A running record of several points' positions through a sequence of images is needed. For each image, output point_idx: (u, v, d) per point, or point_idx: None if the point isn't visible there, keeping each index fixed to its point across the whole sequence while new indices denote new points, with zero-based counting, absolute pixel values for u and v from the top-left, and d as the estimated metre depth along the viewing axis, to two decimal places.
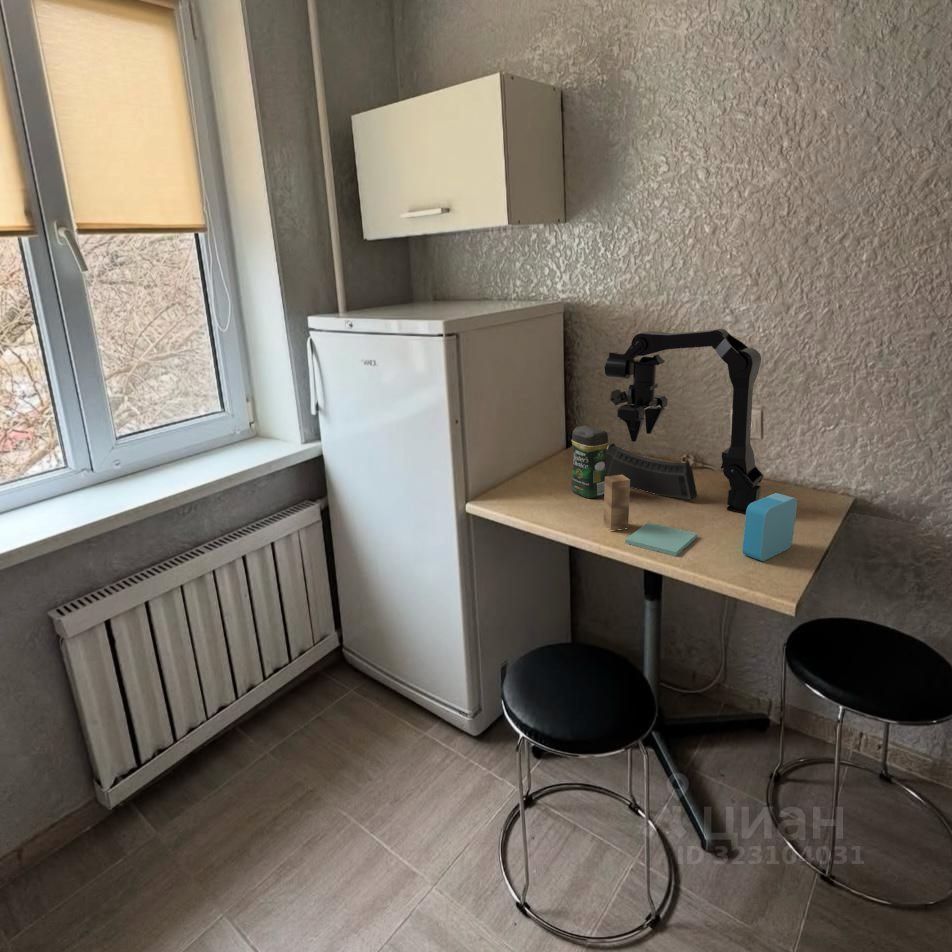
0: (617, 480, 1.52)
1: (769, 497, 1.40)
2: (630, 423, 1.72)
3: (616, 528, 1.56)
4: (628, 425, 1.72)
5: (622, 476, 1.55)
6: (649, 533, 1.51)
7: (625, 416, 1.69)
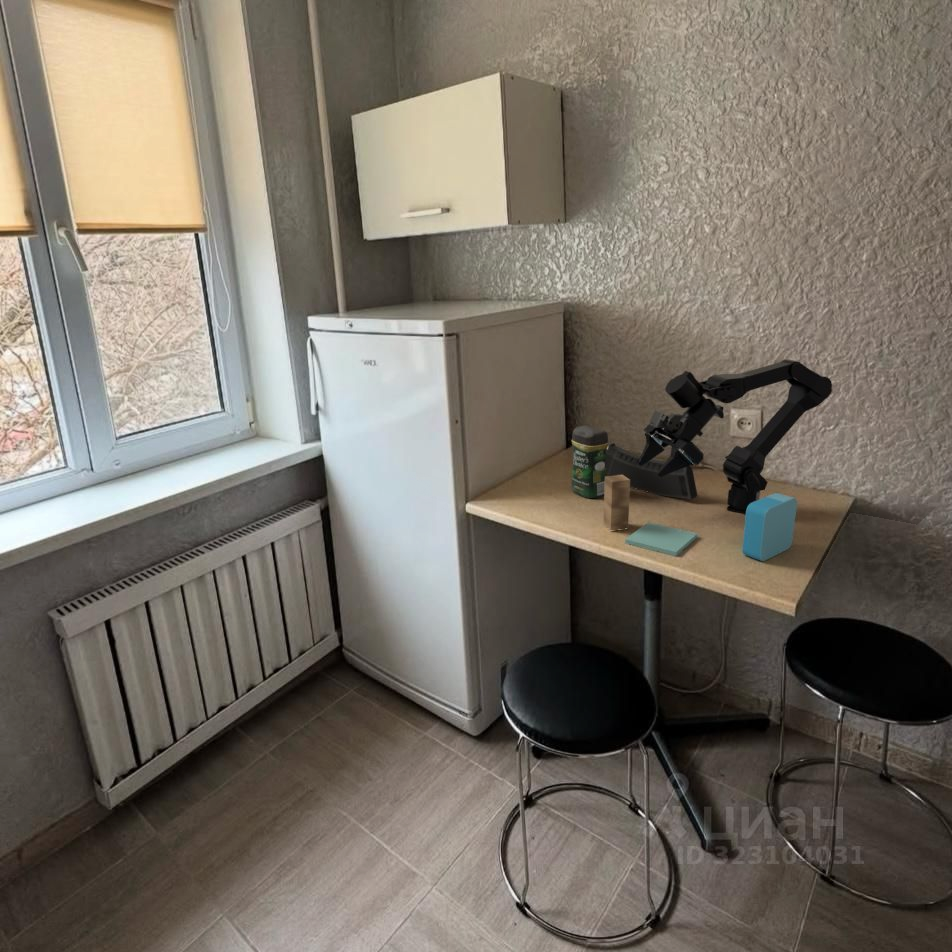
0: (617, 480, 1.52)
1: (769, 497, 1.40)
2: (674, 459, 1.49)
3: (616, 528, 1.56)
4: (673, 460, 1.49)
5: (622, 476, 1.55)
6: (649, 533, 1.51)
7: (691, 455, 1.46)
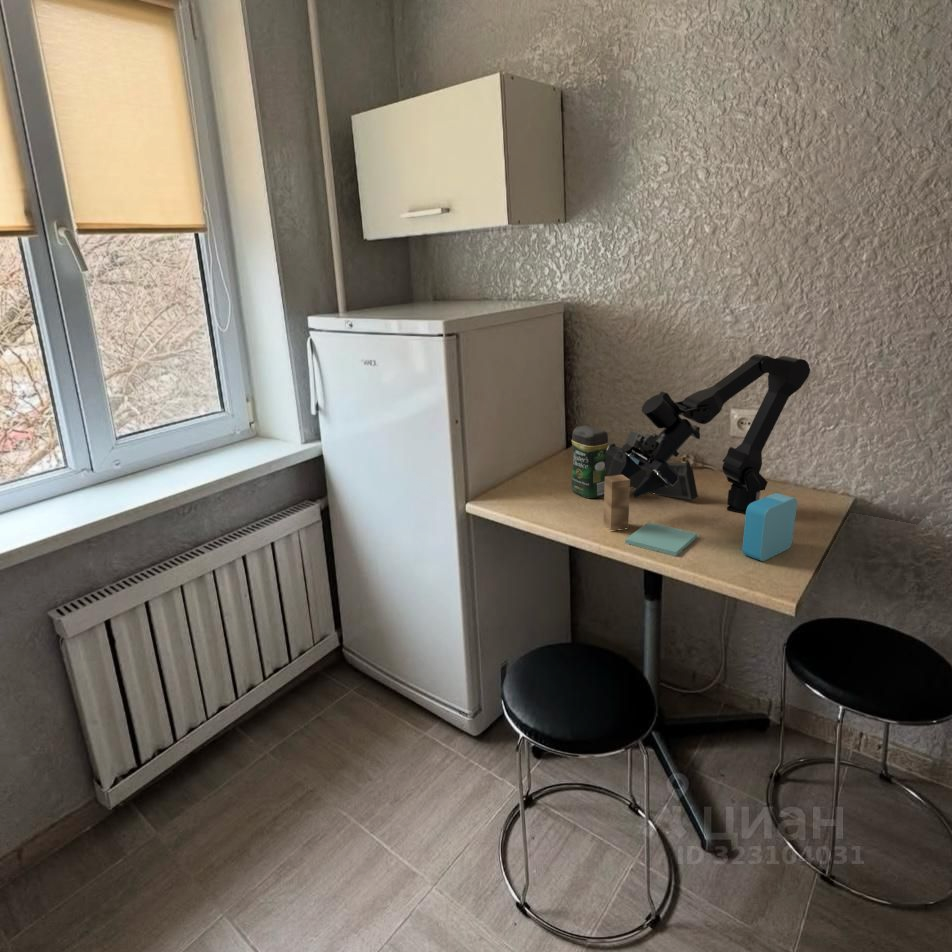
0: (617, 480, 1.52)
1: (769, 497, 1.40)
2: (650, 479, 1.49)
3: (616, 528, 1.56)
4: (648, 480, 1.49)
5: (622, 476, 1.55)
6: (649, 533, 1.51)
7: (666, 476, 1.46)
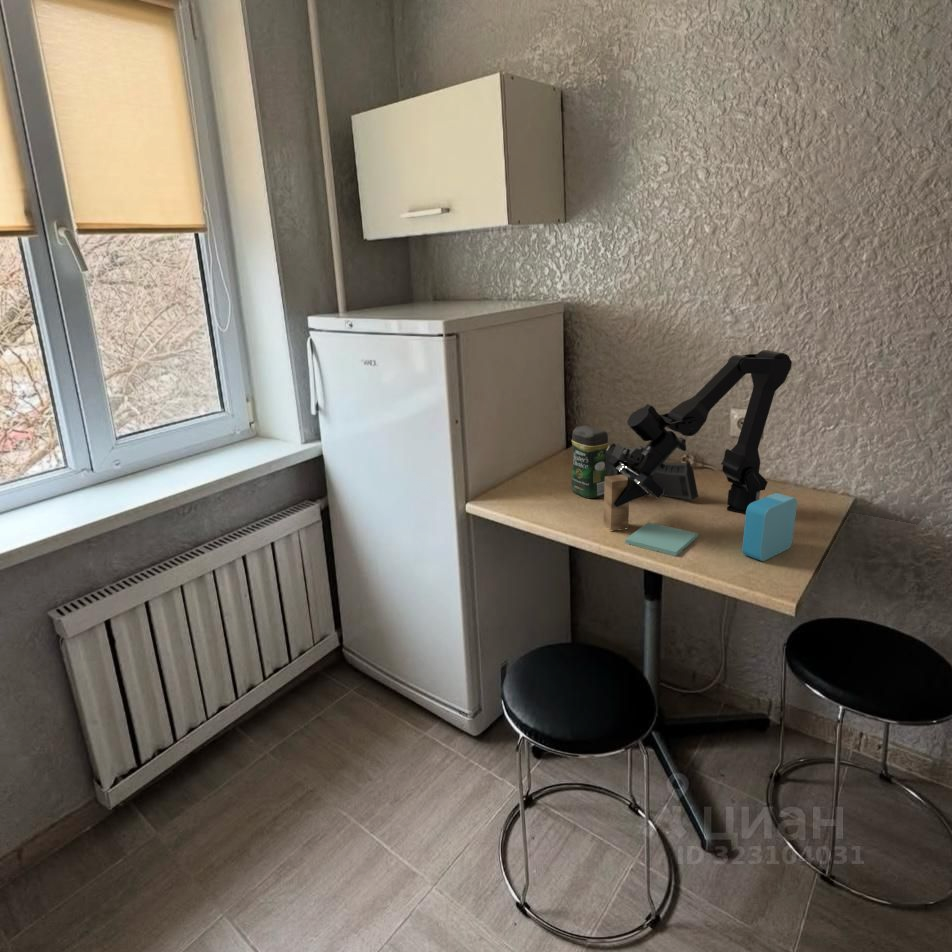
0: (617, 480, 1.52)
1: (769, 497, 1.40)
2: (631, 489, 1.51)
3: (616, 528, 1.56)
4: (629, 490, 1.51)
5: (622, 476, 1.55)
6: (649, 533, 1.51)
7: (651, 489, 1.46)
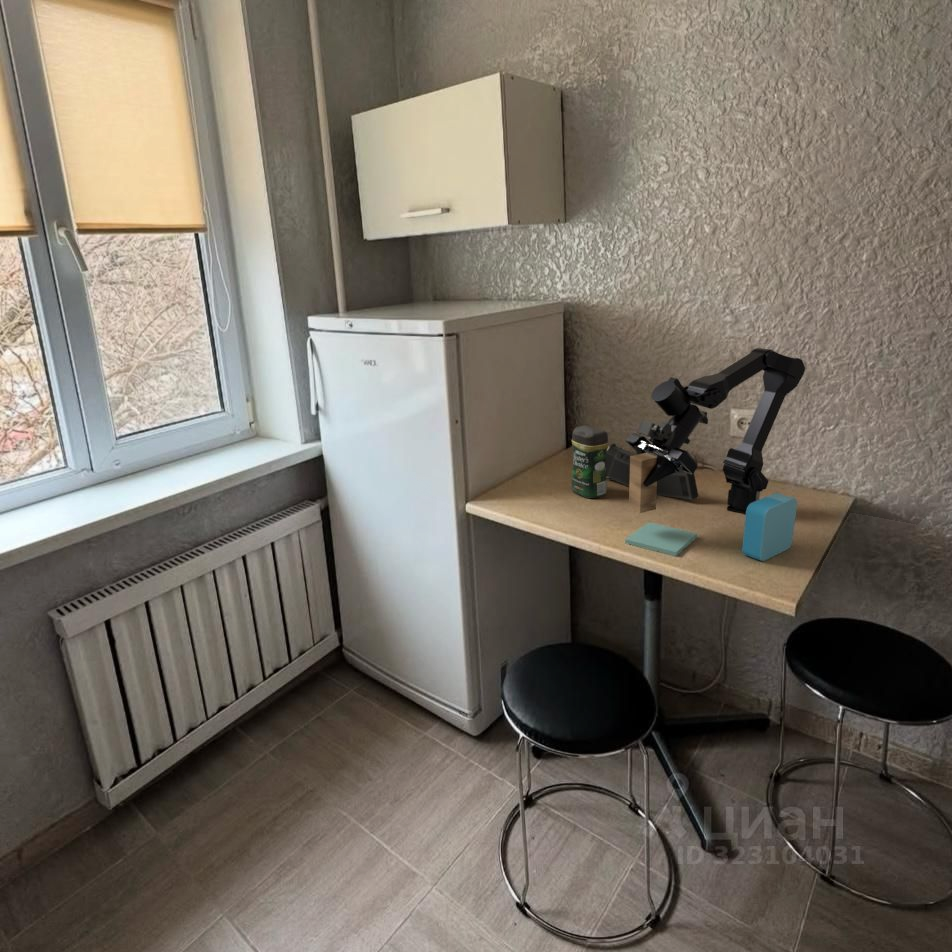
0: (645, 458, 1.45)
1: (769, 497, 1.40)
2: (660, 467, 1.45)
3: (645, 509, 1.49)
4: (659, 468, 1.45)
5: (647, 454, 1.48)
6: (649, 533, 1.51)
7: (687, 465, 1.40)
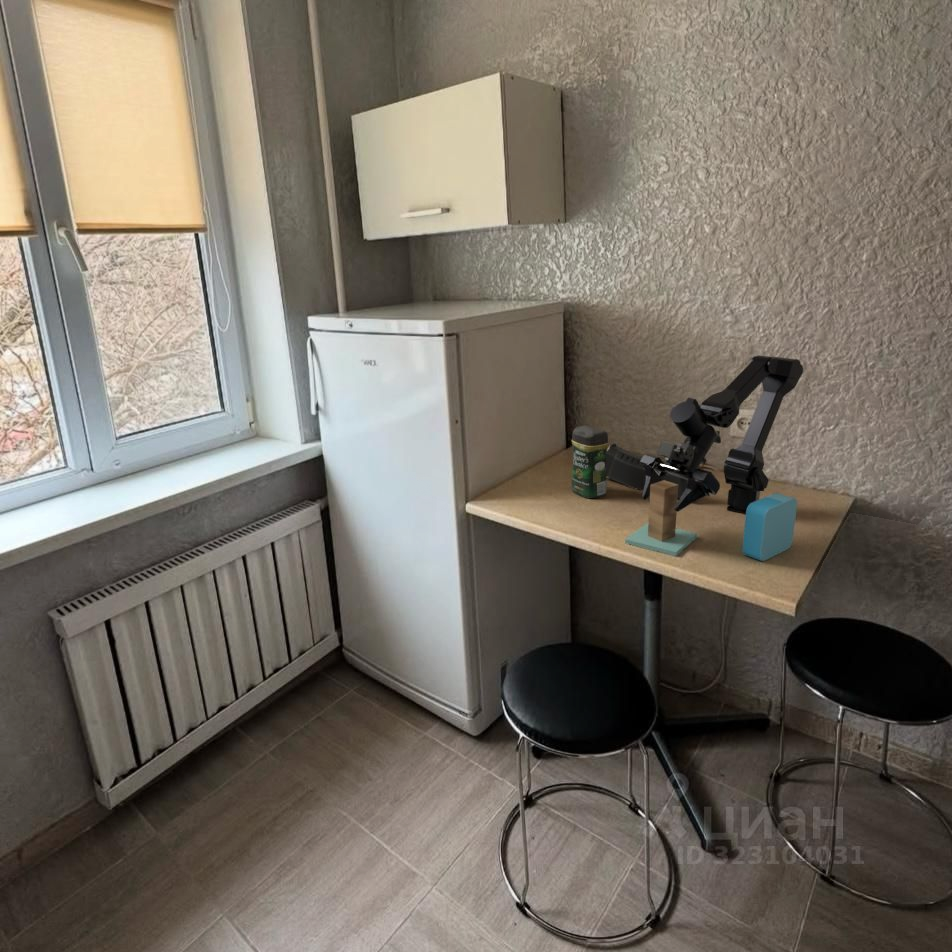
0: (667, 487, 1.44)
1: (769, 497, 1.40)
2: (691, 491, 1.42)
3: (666, 537, 1.47)
4: (691, 492, 1.41)
5: (666, 482, 1.47)
6: None
7: (711, 485, 1.40)
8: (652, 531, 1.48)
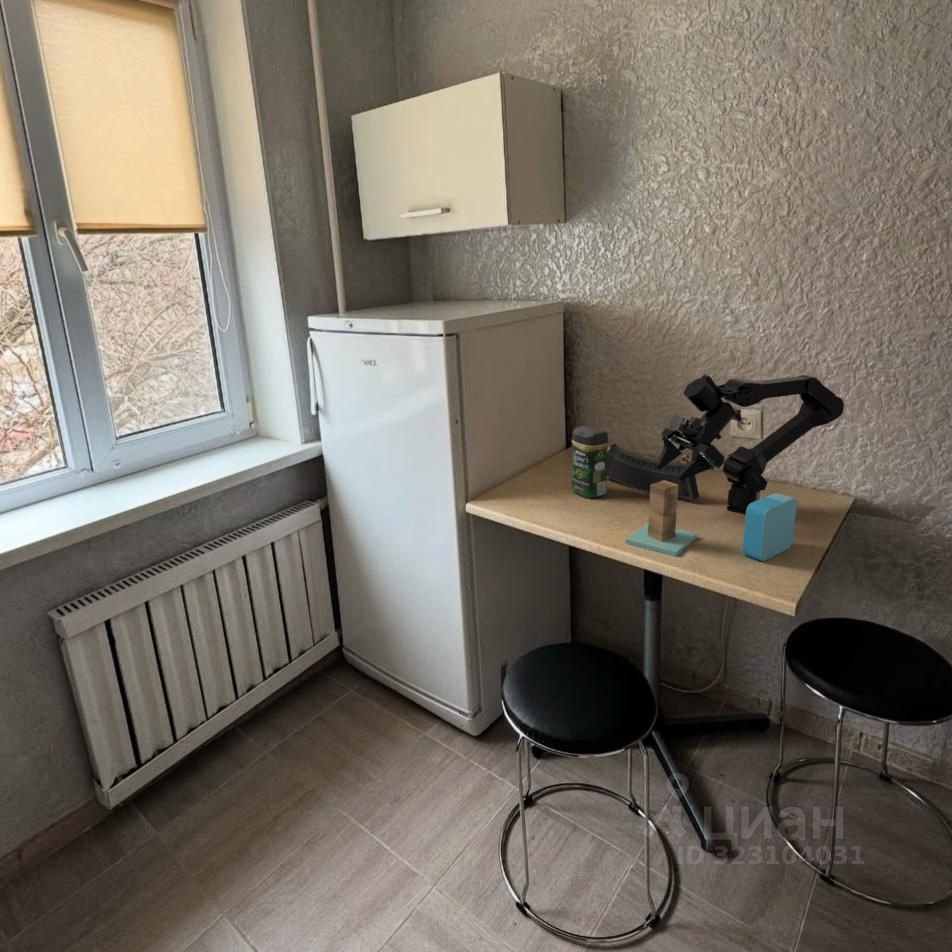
0: (667, 487, 1.44)
1: (769, 497, 1.40)
2: (695, 462, 1.50)
3: (666, 537, 1.47)
4: (694, 463, 1.50)
5: (666, 482, 1.47)
6: None
7: (713, 458, 1.47)
8: (652, 531, 1.48)
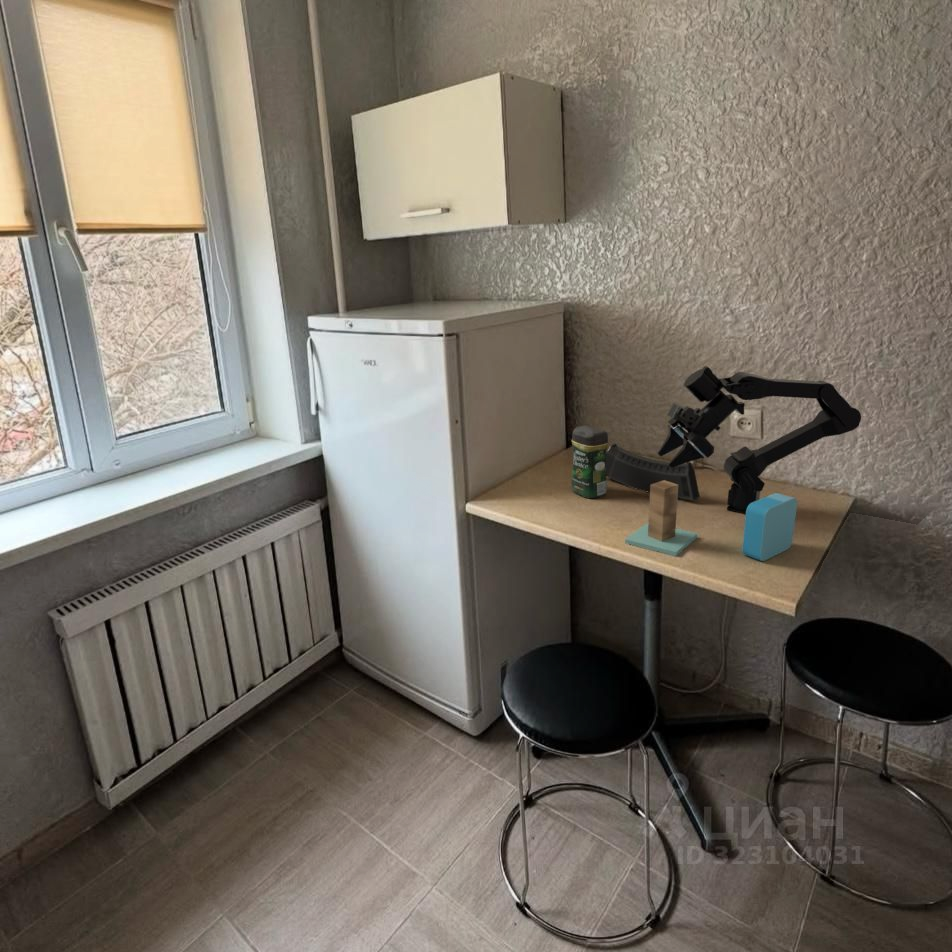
0: (667, 487, 1.44)
1: (769, 497, 1.40)
2: (686, 451, 1.55)
3: (666, 537, 1.47)
4: (684, 451, 1.54)
5: (666, 482, 1.47)
6: None
7: (700, 447, 1.51)
8: (652, 531, 1.48)
